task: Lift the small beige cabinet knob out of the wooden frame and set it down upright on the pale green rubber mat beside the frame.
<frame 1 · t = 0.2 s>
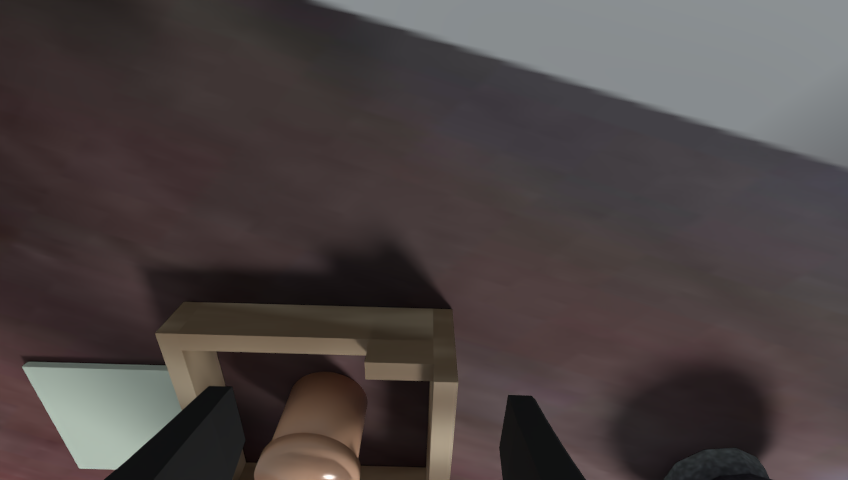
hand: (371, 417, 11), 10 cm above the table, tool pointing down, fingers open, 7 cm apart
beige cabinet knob: (329, 400, 24), resting in wooden frame
wooden frame: (328, 400, 24), on the table
mat: (130, 418, 25), on the table
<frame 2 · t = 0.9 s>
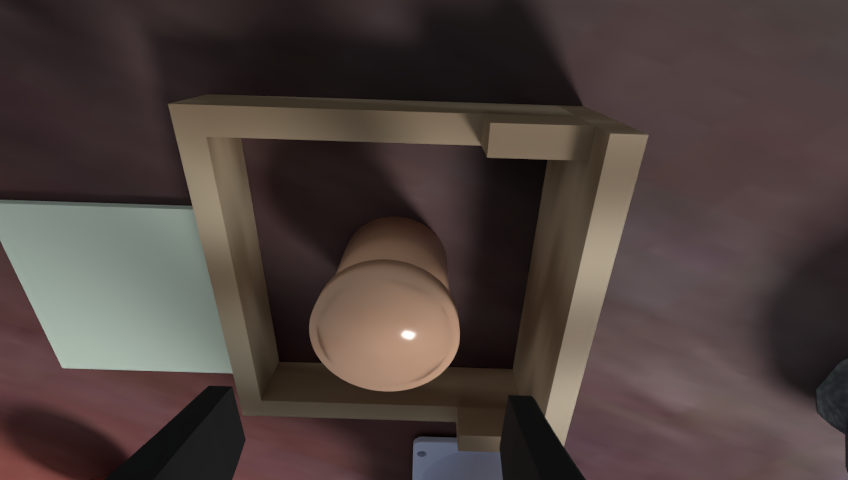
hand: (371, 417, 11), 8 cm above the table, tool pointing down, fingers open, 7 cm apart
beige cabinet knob: (395, 263, 18), resting in wooden frame
onion: (125, 474, 25), on the table
wooden frame: (395, 263, 18), on the table
mat: (129, 292, 19), on the table
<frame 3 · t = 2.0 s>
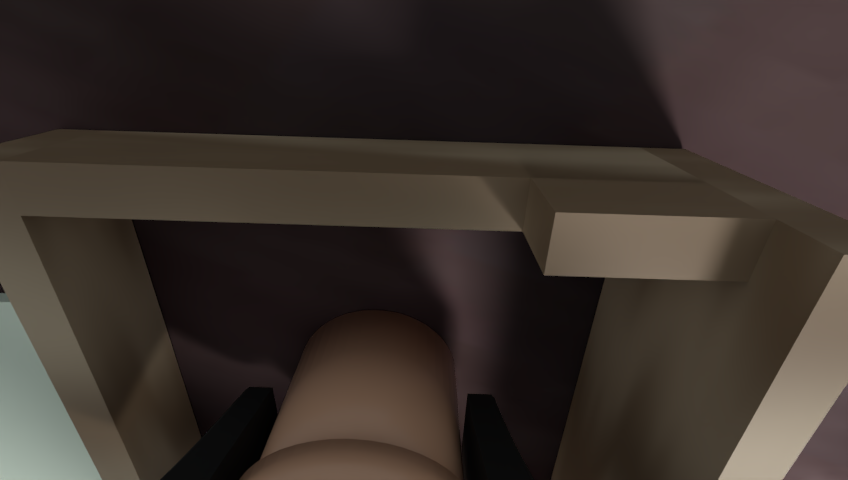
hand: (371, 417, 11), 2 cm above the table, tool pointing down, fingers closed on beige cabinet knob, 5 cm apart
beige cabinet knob: (378, 372, 12), resting in wooden frame, touching gripper
wooden frame: (378, 373, 12), on the table
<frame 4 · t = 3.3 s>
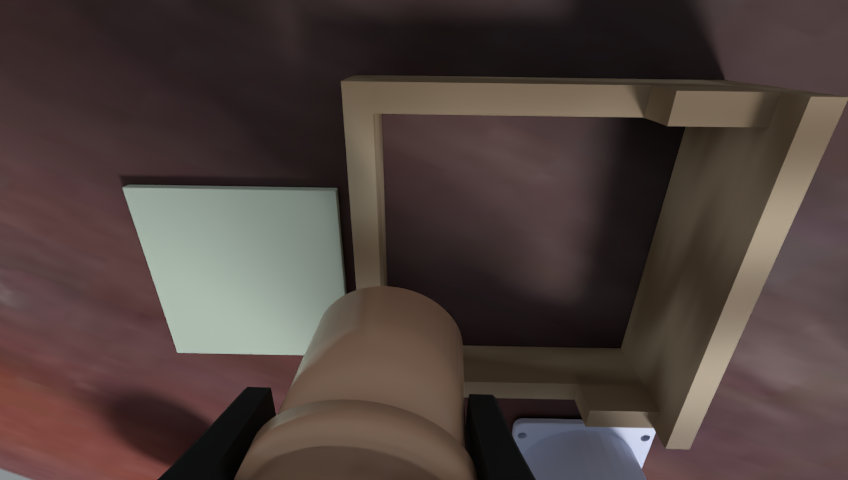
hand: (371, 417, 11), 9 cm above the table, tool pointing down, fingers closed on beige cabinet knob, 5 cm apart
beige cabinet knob: (389, 346, 13), point 7 cm above the table, touching gripper
wooden frame: (518, 243, 18), on the table
mat: (251, 276, 19), on the table
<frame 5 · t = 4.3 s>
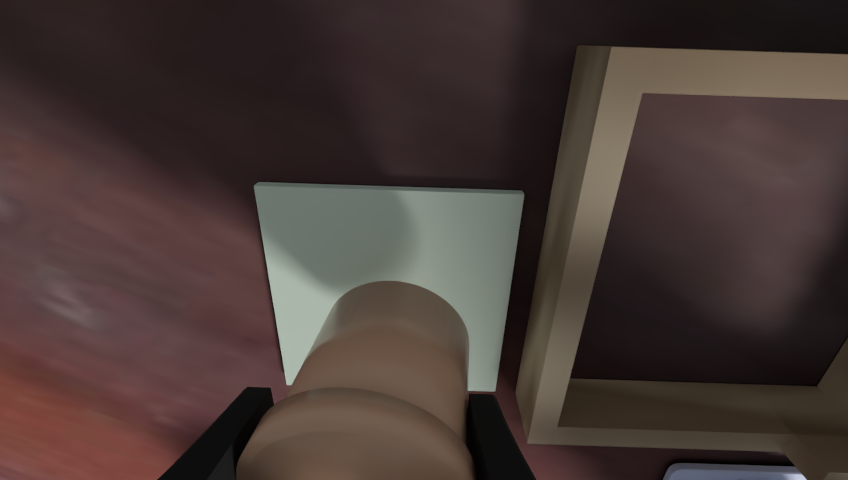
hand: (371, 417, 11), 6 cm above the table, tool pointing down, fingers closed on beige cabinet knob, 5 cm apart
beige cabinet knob: (396, 341, 13), point 3 cm above the table, tilted 6°, touching gripper
wooden frame: (729, 261, 15), on the table
mat: (391, 296, 16), on the table
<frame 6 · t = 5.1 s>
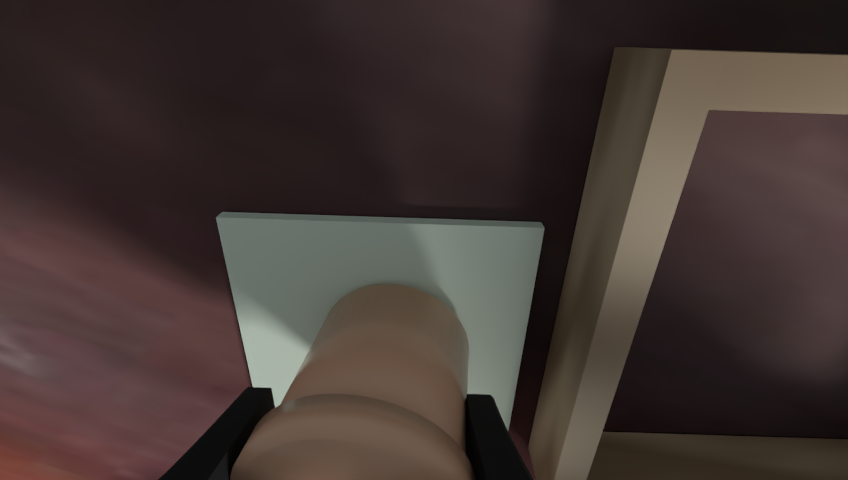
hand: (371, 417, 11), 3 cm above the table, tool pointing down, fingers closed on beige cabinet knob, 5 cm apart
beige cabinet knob: (395, 345, 13), point 1 cm above the table, tilted 6°, touching gripper, mat
wooden frame: (786, 303, 13), on the table
mat: (384, 341, 13), on the table
when the fingers open (3 cm above the table, at t = 5.3 s): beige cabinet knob stays where it is, resting on mat.
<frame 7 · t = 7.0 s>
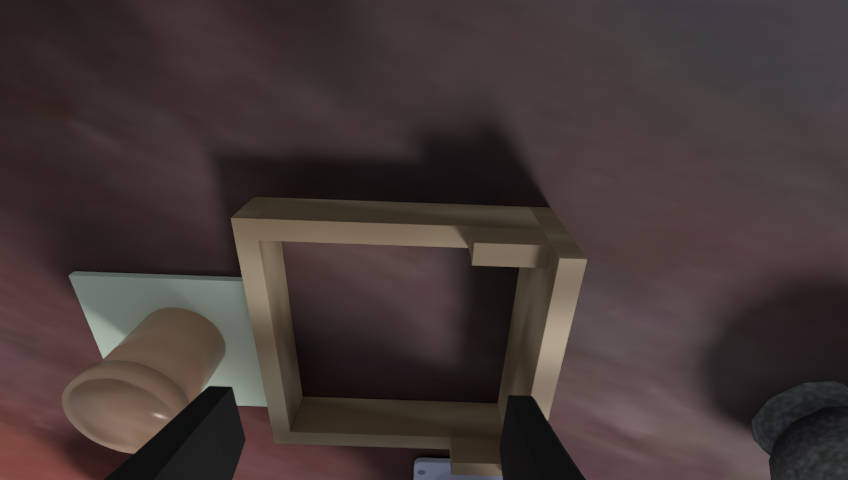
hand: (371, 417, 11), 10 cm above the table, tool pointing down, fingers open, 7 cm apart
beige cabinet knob: (183, 341, 23), resting on mat
wooden frame: (401, 321, 22), on the table
mat: (181, 341, 23), on the table
mortar and pestle: (794, 421, 26), on the table
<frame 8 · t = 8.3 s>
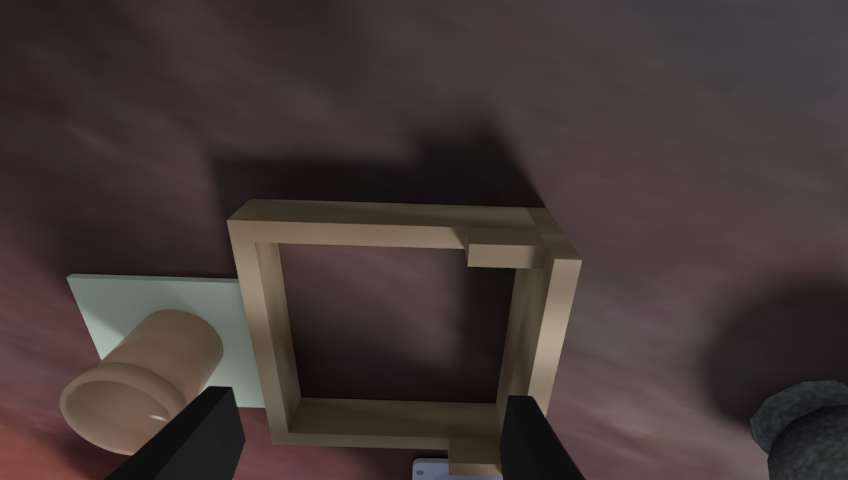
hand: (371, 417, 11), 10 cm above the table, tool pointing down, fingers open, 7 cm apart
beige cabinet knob: (181, 343, 23), resting on mat
wooden frame: (398, 322, 22), on the table
mat: (179, 343, 23), on the table
mortar and pestle: (793, 421, 26), on the table
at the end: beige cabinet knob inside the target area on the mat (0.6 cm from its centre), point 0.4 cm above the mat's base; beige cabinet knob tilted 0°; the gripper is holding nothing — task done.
